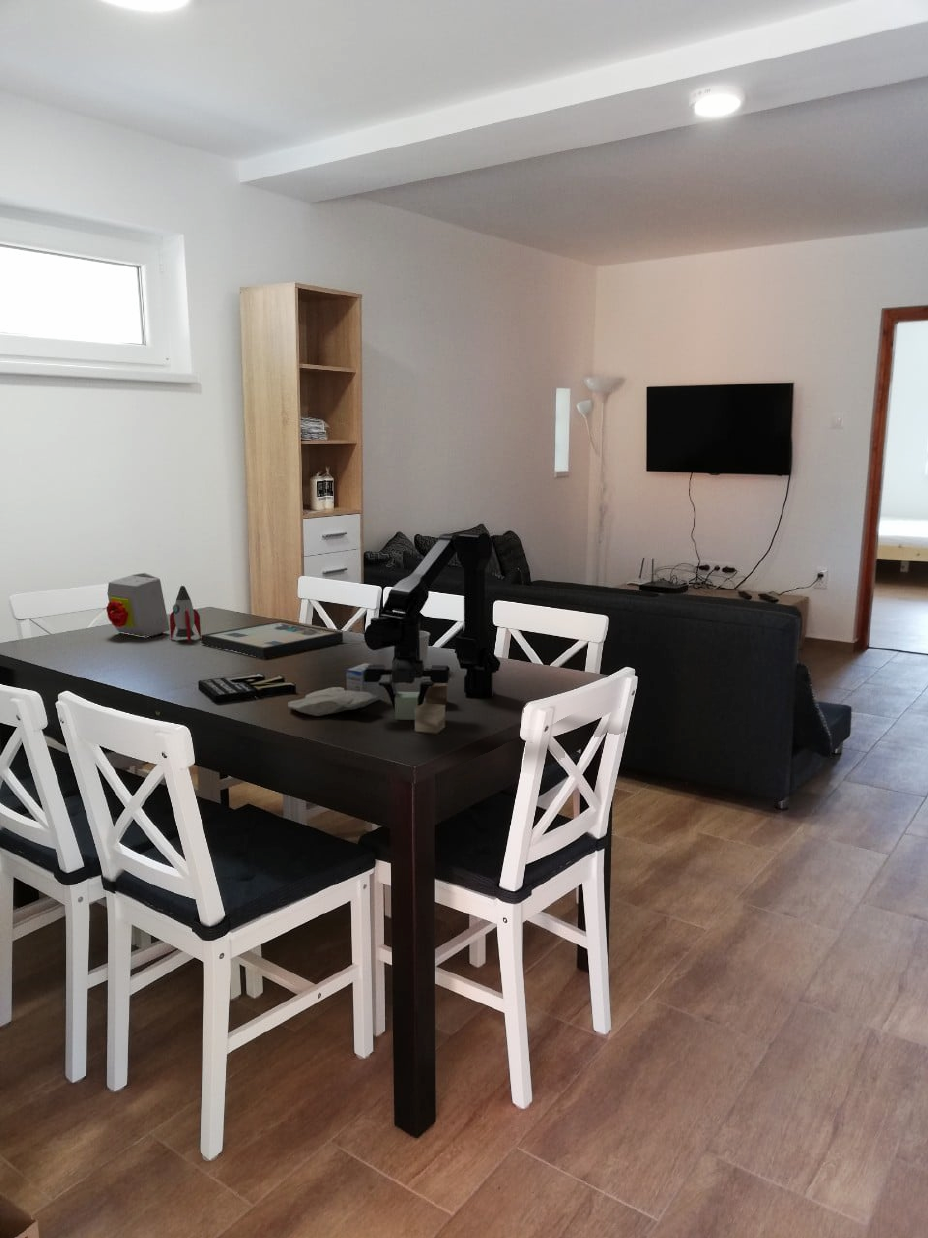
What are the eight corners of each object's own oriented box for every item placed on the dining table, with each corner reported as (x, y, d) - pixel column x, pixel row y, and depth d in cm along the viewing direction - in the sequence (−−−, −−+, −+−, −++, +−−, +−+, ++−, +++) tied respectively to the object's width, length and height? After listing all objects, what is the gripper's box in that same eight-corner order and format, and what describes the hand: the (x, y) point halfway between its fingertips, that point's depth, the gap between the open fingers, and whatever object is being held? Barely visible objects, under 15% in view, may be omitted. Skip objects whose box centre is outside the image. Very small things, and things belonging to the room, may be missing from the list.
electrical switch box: (103, 642, 302) (91, 583, 296) (142, 628, 313) (131, 571, 307) (131, 648, 293) (119, 587, 287) (170, 633, 305) (159, 574, 299)
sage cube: (420, 713, 213) (420, 692, 212) (417, 719, 208) (417, 698, 207) (398, 713, 213) (398, 691, 212) (395, 719, 208) (394, 697, 208)
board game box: (342, 632, 290) (263, 648, 267) (343, 644, 291) (263, 661, 268) (280, 620, 310) (201, 635, 287) (280, 632, 310) (202, 647, 288)
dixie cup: (397, 666, 258) (397, 631, 257) (427, 665, 260) (427, 629, 258) (402, 673, 250) (401, 637, 249) (432, 672, 252) (432, 635, 250)
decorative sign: (197, 680, 236) (274, 671, 245) (198, 690, 236) (274, 680, 246) (215, 695, 221) (296, 685, 231) (216, 706, 222) (297, 695, 231)
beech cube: (445, 727, 203) (444, 705, 202) (436, 733, 198) (436, 711, 197) (423, 725, 205) (423, 702, 204) (414, 731, 200) (414, 709, 199)
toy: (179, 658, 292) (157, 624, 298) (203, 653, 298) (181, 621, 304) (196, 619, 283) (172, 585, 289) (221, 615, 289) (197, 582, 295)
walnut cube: (444, 701, 224) (444, 680, 223) (446, 706, 219) (446, 685, 218) (423, 701, 223) (423, 681, 222) (425, 707, 218) (425, 686, 218)
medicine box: (364, 697, 227) (363, 662, 225) (380, 699, 225) (379, 664, 223) (346, 705, 220) (345, 669, 218) (362, 708, 218) (362, 671, 216)
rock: (328, 729, 203) (382, 709, 213) (325, 709, 202) (379, 690, 212) (274, 717, 218) (326, 699, 228) (271, 698, 217) (323, 680, 227)
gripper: (358, 650, 200) (360, 720, 203) (445, 651, 199) (445, 722, 202) (367, 639, 211) (369, 706, 214) (450, 640, 210) (450, 708, 213)
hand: (407, 711), depth 211 cm, fingers closed on sage cube, 5 cm apart
